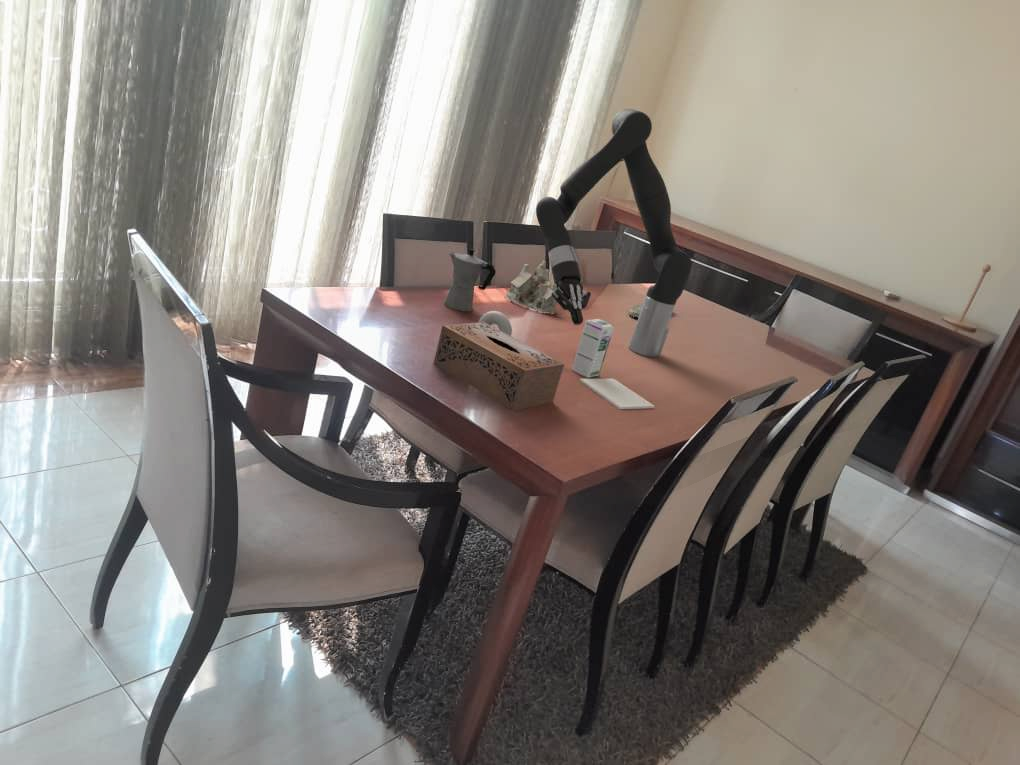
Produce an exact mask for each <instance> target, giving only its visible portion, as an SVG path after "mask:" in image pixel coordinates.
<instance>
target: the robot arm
mask: <svg viewBox="0 0 1020 765" xmlns="http://www.w3.org/2000/svg"><path fill="white" fill-rule="evenodd" d="M611 122H612V123H611V132H612V137H611V138H610V139H609V140H608V141H607V143H605V145H603V146H602V147H601V148H600V149H599V150H598V151H596V152H595V153H594V154H593V155H591V156H590V157H588V158H587V159H585V160H584V161H583V162H581V163H580V164H579V165H578V166H577V167H576V168H575V169H574V170H573V171H572V172H571V173H570V174H569V175H568V177H567V178H566V179H565V180H564V181H563V182H562V183H561V185H560V195H559V196H558V198H557V199H556V198H554V197H552V196H545V197H542V198H541V199H540V200H539V201H538V202H537V204H536V208H535V215H536V220H537V222H538V225H539V227H540V229H541V232H542V235H543V237H544V240H545V244H546V249H547V253H548V259H549V265H550V269H551V273H552V278H553V282H554V283H553V284H556V288H557V289H556V290H555V291H554V292H552V293H551V295H552V296H553V297H554V299H555V300H556V301H557V302H558V303H557V304H559V306H560V307H561V308H562V309H563V310H564V311H568V312H569V314H570V317H571V322H572V323H573V325H575V326H580V325H581V324H583V322H584V316H583V312H582V310H584V309H586V308H587V306H588V303H589V300H590V299H591V294H592V293H591V292H590V291H586V290H585V289H584V287H583V284H582V283H581V278H582V274H581V270H580V267H579V266H580V265H579V263H578V259H577V255H576V252H575V249H574V245H573V242H572V239H571V235H570V232H569V231H568V229H567V228H566V226H565V224H567V222H568V221H569V219H570V218H571V217H572V215H573V213H574V212H575V211H576V209H577V207H578V205H579V203H580V202H581V201H582V200H583V199H584V198H585V197H586V196H587V195H588V194H589V192H591V191H592V190H593V188H594V187H595V186H596V185H597V184H598V183H599V182H600V181H601V180H602V179H603V178H604V177H605V175H607V174H608V173H609V172H610V171H611V170H612V169H613V168H614V167H616V166H617V165H618V164H619V163H620V162H621V161H624V163H625V167H626V171H627V175H628V179H629V183H630V187H631V189H632V190H631V191H632V192H633V197H634V200H635V204H636V207H637V210H638V214H639V216H640V218H641V222H642V223H643V227H644V229H645V232H646V234H647V237H648V242H649V246H650V250H651V257H652V262H653V266H654V268H655V270H656V272H658V277H657V279H656V282H655V284H653V285H651V286H649V287H648V289H647V291H646V295H645V298H644V300H643V303H642V304H643V306H642V309H641V312H640V315H639V318H638V319H637V321H636V323H635V324H636V325H635V328H634V330H633V333H632V337H631V339H630V341H629V342H630V343H629V345H628V348H629V350H631V351H632V352H634V353H636V354H639V355H642V356H645V357H650V358H656V357H659V358H660V357H661V354H662V351H663V348H664V346H665V343H666V340H667V337H668V335H669V332H670V328H669V323H670V321H671V317H672V315H673V312H674V310H675V307H676V304H677V301H678V299H679V298H680V297H681V296H682V294H683V292H684V289H685V287H686V285H687V282H688V279H689V277H690V274H691V271H692V268H693V265H692V264H693V263H692V258H691V257H690V255H689V254H688V253H687V252H686V251H684V250H682V249H680V247H679V246H678V244H677V242H676V240H675V236H674V234H673V232H672V227H671V216H672V214H671V213H672V208H671V207H672V206H671V199H670V196H669V192H668V189H667V186H666V183H665V180H664V179H663V177H662V175H661V173H660V171H659V170H658V167H657V166H656V164H655V162H654V161H653V159H652V157H651V154H650V153H649V149H648V146H647V140H648V139H649V138H650V136H651V133H652V129H653V126H652V125H653V124H652V121H651V119H650V117H649V115H647V113H645V112H643V111H641V110H636V109H632V108H623V109H621V110H620V111H618V112H617V113H616V114H615V116H614V117H613V120H612V121H611Z"/></svg>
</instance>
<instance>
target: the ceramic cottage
mask: <svg viewBox="0 0 1020 765" xmlns="http://www.w3.org/2000/svg"><path fill="white" fill-rule="evenodd" d="M546 267H547V262H546V261H544V260H542V263H540V264H539V265H538V267H536V268H535V269H534V270H533V272H532V274H531V273H529V271H530V264H527V263H524V265H523V266H522V269H521V271H520V273H519V275H517V277H516V278H514V279H513V280H512V281H510V284H511V286H510V287H509V290H508V291H507V292H506V293H505V295H506V297H507V298H508V299H509V300H511V301H513V302H516V303H519V304H521V305H524V306H526V307H529V308H531V309H534V310H537V311H541V312H549V313H555V314H556V307H557V304H559V303H558V302H557V301H556V300H555V299H554V297H553V296H552V295H551V293H552V292H554V291H555V290H556V289H557V288H556V286H557V285H556V284H555V283H553V284H552V283H551V282H550V272H549V269H547V268H546Z"/></svg>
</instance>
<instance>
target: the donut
mask: <svg viewBox="0 0 1020 765" xmlns="http://www.w3.org/2000/svg"><path fill="white" fill-rule="evenodd" d="M478 322H485V323H487V324H489V325H491V326H492V325H493V324H494V325H496V326H497V329H498V330H500V331H502V332H504V333H506V334H508V335H510V336H512V331H513V330H512V324H511V322H510V320H509V318H508V317H507V316H506V315H505V314H504V313H502V312H501V311H497V310H490V311H488V312H485V313H484V314H482V316H481V317H480V318H479V320H478Z"/></svg>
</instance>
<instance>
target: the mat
mask: <svg viewBox="0 0 1020 765" xmlns="http://www.w3.org/2000/svg"><path fill="white" fill-rule="evenodd" d="M579 382H581V383H582V384H583V385H584V386H586V387H587V388H589V389H590V390H592V391H593V392H594V393H596V394H597V395H599V396H601V397H602V398H603V399H605V400H606V402H609V403H610V404H612V405H613V406H615V407H616V408H617V409H619V410H636V409H637V410H638V409H655V405H654V404H652V403H651V402H649V401H647V400H646V399H645V398H643V397H642V396H641V395H639V394H637V393H636V392H634V391H633V390H631V389H630V388H628V387H627V386H626V385H624V384H622V383H621V382H620V381H618V380H617V379H616V378H579Z"/></svg>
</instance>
